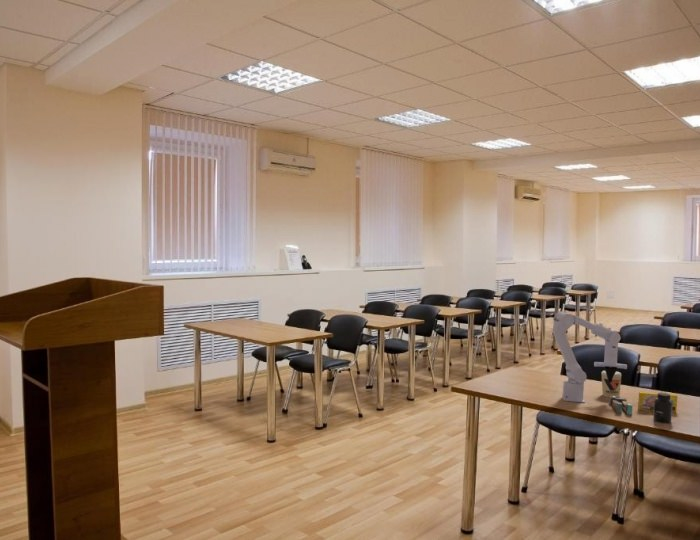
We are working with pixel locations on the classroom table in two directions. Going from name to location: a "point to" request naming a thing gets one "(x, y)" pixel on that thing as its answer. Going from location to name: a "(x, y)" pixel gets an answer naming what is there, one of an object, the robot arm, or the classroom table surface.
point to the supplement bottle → (663, 408)
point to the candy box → (653, 401)
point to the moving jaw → (617, 406)
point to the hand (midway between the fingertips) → (609, 382)
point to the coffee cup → (611, 385)
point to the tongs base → (626, 406)
